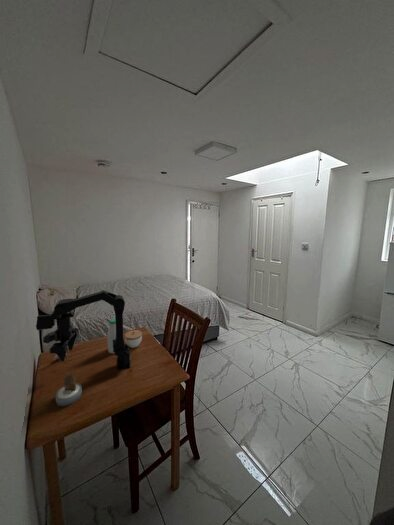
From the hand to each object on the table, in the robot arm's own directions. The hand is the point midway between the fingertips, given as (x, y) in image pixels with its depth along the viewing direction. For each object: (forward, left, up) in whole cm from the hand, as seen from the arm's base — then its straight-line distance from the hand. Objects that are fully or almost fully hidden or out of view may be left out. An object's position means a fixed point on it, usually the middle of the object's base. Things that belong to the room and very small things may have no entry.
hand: (66, 355), depth 104 cm
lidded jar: (-29, -26, -13) cm, 41 cm away
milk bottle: (-18, -22, -13) cm, 31 cm away
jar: (-5, +13, -12) cm, 19 cm away
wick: (-6, +13, -9) cm, 17 cm away
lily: (+9, -18, -13) cm, 24 cm away
